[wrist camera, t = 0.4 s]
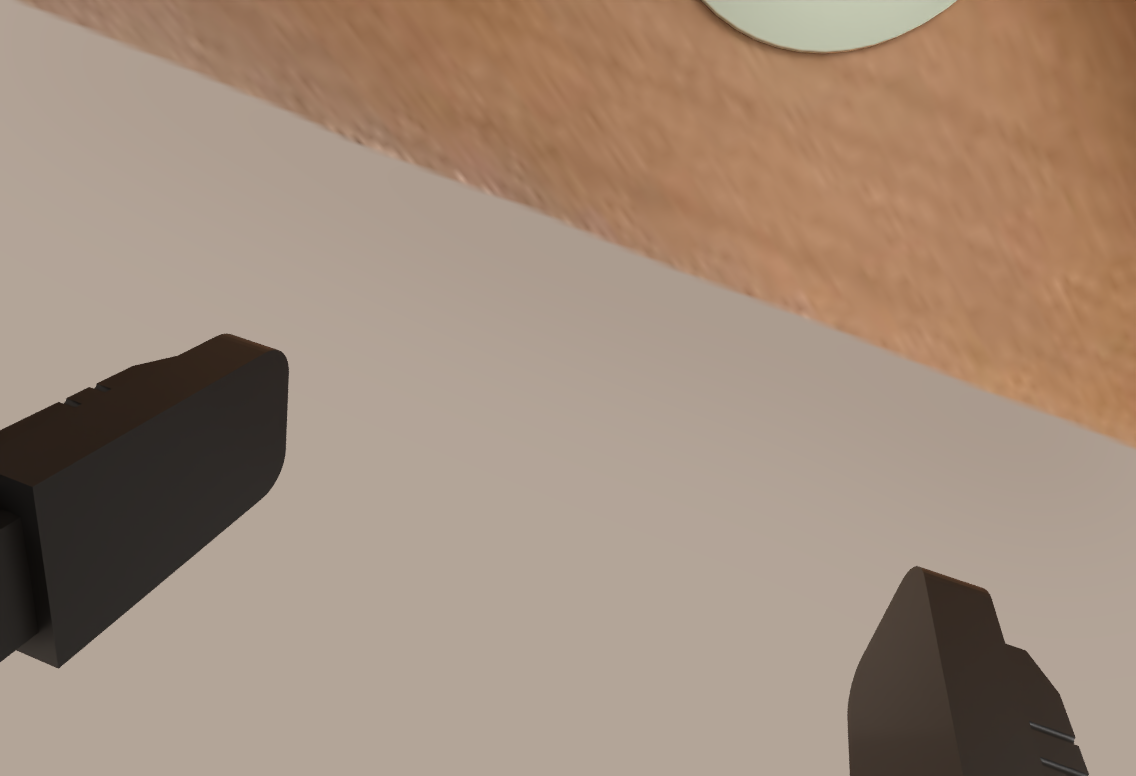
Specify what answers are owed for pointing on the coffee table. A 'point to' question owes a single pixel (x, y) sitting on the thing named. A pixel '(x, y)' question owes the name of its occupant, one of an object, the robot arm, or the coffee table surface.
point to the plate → (825, 21)
